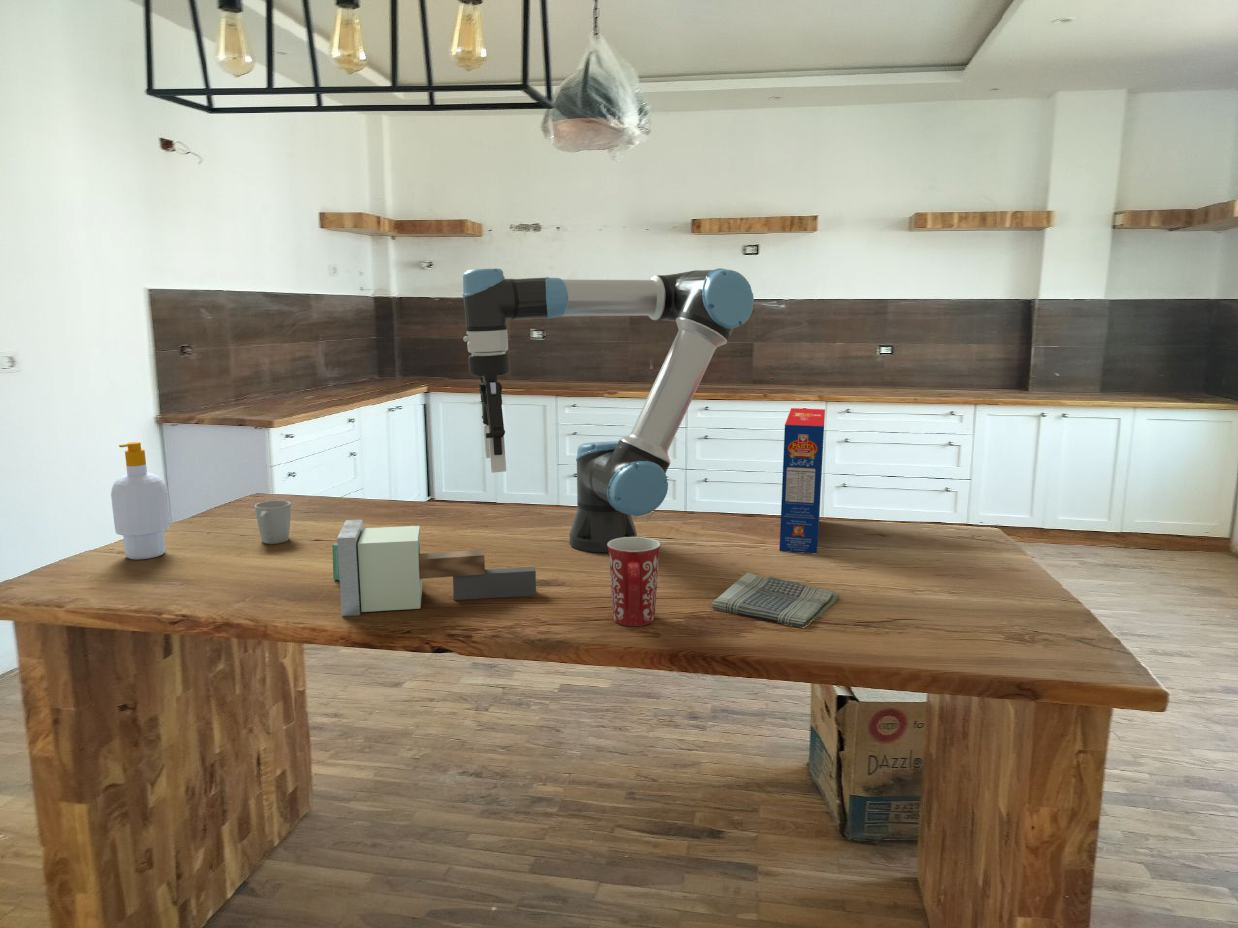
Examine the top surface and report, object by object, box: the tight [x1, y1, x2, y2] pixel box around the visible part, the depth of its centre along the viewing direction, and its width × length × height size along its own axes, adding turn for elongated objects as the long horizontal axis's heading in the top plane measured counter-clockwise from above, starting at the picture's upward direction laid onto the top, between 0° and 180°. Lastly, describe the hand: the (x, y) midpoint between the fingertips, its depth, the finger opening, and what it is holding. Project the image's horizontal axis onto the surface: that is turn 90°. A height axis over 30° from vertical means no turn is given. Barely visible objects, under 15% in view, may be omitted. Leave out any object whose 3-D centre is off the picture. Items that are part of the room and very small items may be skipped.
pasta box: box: [779, 407, 826, 554], centre depth 196 cm, size 28×8×28 cm, turn 166°
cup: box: [254, 499, 292, 545], centre depth 190 cm, size 8×10×8 cm
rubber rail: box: [452, 566, 537, 601], centre depth 158 cm, size 15×2×5 cm, turn 101°
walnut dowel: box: [419, 548, 486, 580], centre depth 155 cm, size 16×4×4 cm, turn 101°
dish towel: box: [711, 572, 840, 628], centre depth 155 cm, size 19×18×3 cm
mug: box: [607, 536, 662, 627], centre depth 144 cm, size 13×9×14 cm
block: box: [358, 525, 423, 613], centre depth 153 cm, size 10×10×12 cm
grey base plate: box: [336, 519, 364, 617], centre depth 152 cm, size 3×12×14 cm, turn 11°
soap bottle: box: [110, 441, 171, 560], centre depth 179 cm, size 10×10×24 cm
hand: (495, 464), depth 164 cm, fingers open, 13 cm apart
